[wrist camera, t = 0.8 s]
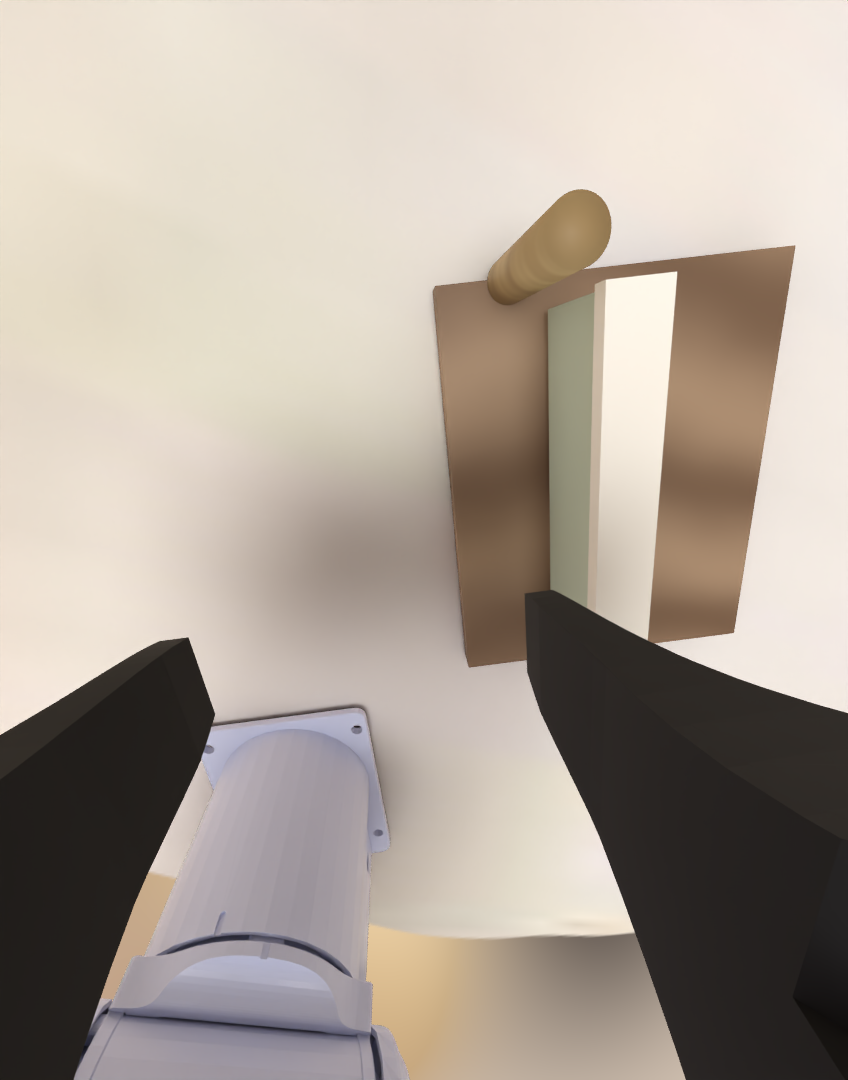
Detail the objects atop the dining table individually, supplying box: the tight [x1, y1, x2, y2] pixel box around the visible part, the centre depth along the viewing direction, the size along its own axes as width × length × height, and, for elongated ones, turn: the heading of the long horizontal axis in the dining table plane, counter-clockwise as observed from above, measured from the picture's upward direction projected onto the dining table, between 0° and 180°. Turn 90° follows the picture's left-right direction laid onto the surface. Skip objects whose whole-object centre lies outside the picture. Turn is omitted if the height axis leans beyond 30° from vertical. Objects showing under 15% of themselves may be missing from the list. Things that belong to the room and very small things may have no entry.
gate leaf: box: [548, 272, 677, 640], centre depth 14 cm, size 11×2×5 cm, turn 6°
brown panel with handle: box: [433, 189, 795, 667], centre depth 15 cm, size 16×12×7 cm
